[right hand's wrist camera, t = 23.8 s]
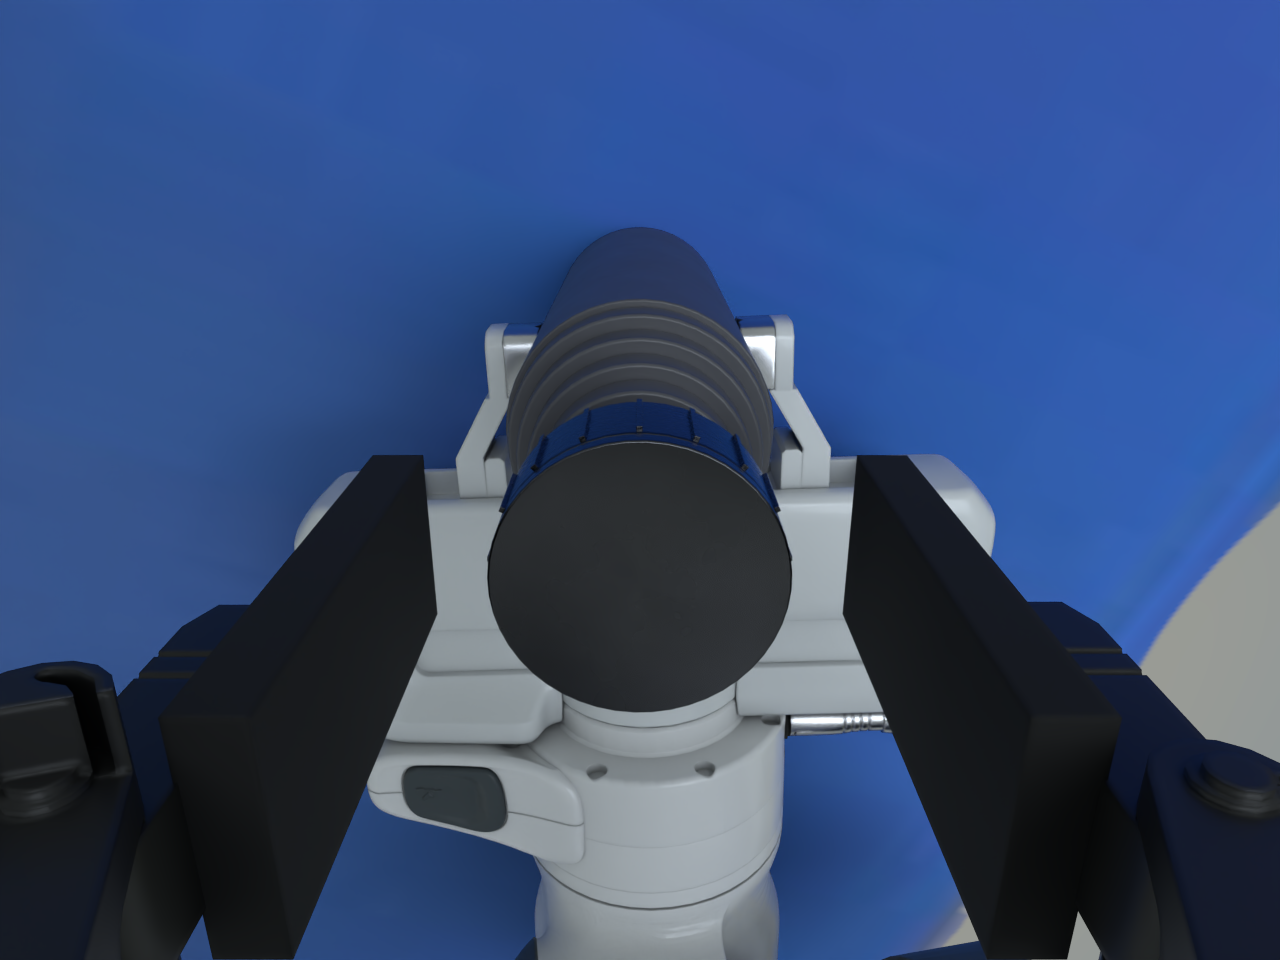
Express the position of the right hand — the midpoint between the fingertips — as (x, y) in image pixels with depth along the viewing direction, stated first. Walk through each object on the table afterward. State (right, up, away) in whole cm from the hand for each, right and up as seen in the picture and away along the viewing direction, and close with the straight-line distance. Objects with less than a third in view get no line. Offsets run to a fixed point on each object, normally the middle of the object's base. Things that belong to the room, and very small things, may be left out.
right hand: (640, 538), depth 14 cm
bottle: (0, +7, +18) cm, 19 cm away
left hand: (0, +5, +11) cm, 12 cm away
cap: (0, 0, -1) cm, 1 cm away
